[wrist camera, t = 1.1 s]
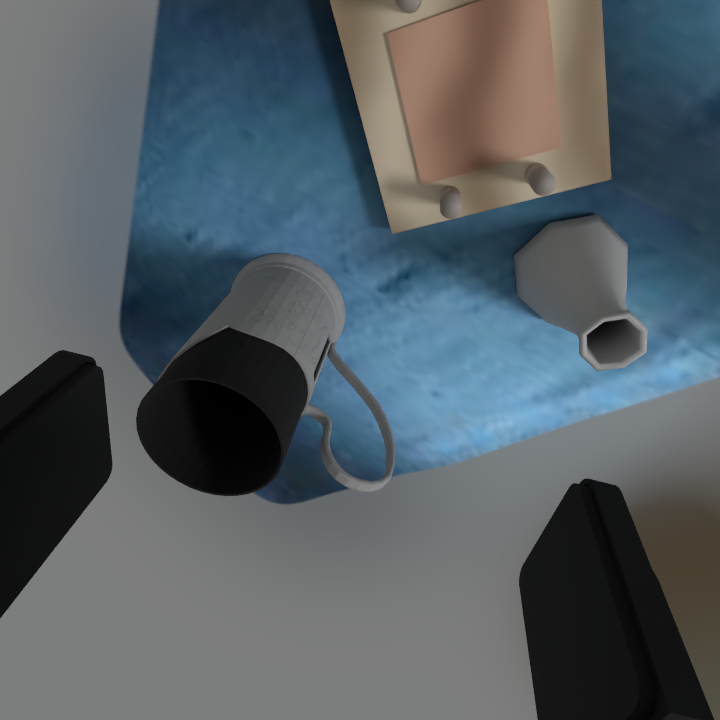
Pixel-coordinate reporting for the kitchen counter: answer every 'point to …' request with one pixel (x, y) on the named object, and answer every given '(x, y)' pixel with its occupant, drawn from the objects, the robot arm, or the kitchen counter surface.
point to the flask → (582, 288)
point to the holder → (253, 383)
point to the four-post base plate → (477, 101)
